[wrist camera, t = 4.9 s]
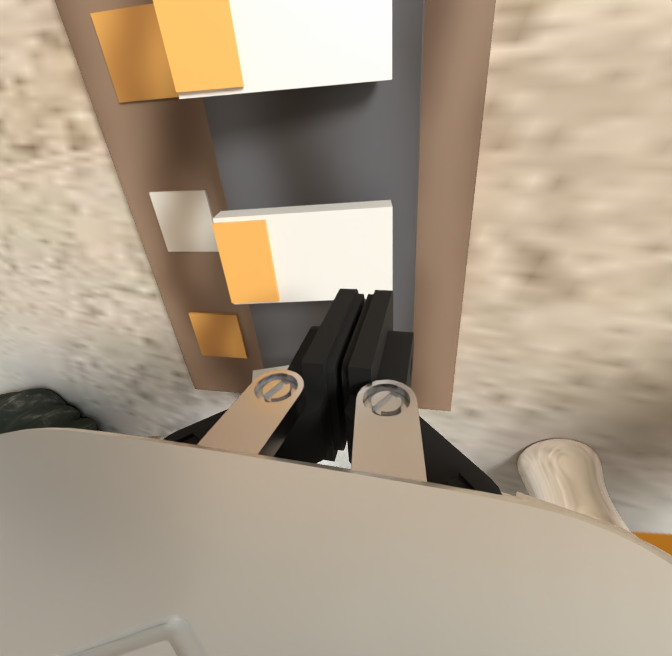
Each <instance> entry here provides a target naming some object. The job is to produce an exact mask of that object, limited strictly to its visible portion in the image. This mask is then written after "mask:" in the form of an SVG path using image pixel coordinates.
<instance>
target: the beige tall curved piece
mask: <svg viewBox="0 0 672 656" xmlns="http://www.w3.org/2000/svg"><path fill="white" fill-rule="evenodd" d="M517 468H518V472H519V474H520V476H521V479H522V481H523V483H524V485H525V487H526V489H527V492H528V494H529V496H532V497H535V498H538V499H540V500H543V501H546V502H549V503H552V504H555V505H558V506H561V507H564V508H566V509H569V510H572V511H575V512H578V513H581V514H584V515H587V516H590V517H592V518H595V519H598V520H601V521H604V522H607V523H610V524H613V525H616V526H619V527H621V528H623V529H625V530H627V531H629V532H630V530H629V529H628V527H627V526H626V524H625V523H624V521H623V520H622V518H621V517H620V515H619V513H618V512H617V510H616V509H615V507H614V505H613V503H612V501H611V499H610V497H609V495H608V492H607V490H606V486H605V482H604V477H603V472H602V467H601V462H600V460H599V457H598V455H597V454H596V453H595V451H594V450H593V449H591V448H590V447H589V446H587V445H585V444H583V443H581V442H578V441H574V440H569V439H549V440H543V441H540V442H537V443H535V444H532V445H531V446H529V447H527V448H526V449H525V450H524V451H523V452H522V453H521V454H520V456H519V458H518V461H517Z"/></svg>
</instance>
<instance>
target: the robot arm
mask: <svg viewBox="0 0 672 656" xmlns="http://www.w3.org/2000/svg"><path fill="white" fill-rule="evenodd" d="M413 355H414V332H403V331H393V291H392V290H375V291H374V294H368V296H367V299H366V301H365V299H364V294H359V293H358V290H357V289H341V288H340V289H339V291H338V293H337V295H336V297H335V299H334V301H333V303H332V304H331V306H330V308H329V310H328V312H327V314H326V316H325V318H324V320H323V322H322V324H321V325H320V326H312V327H311V328H310V330H309V331H308V333H307V335H306V337H305V339H304V340H303V342H302V344H301V346H300V347H299V349H298V351H297V353H296V355H295V356H294V358H293V360H292V362H291V364H290V365H289V367H288V369H287V370H273V371H270V372H267V373H264V374H263V375H261V376H259V377H257V378H256V379H255V380H254V381H253V382H252V383H251V384H250V385H249V386H248V387H247V389H246V390H245V391H244V392H243V393H242V394H241V395H240V396H239V398H238V399H237V400H236V401H235V402H234V403H233V404H232V406H231V407H230V408H229V409H227V410H225V411H223V412H220V413H218V414H216V415H213V416H211V417H209V418H206V419H204V420H202V421H199V422H197V423H195V424H192V425H190V426H188V427H185V428H183V429H181V430H178V431H176V432H174V433H172V434H171V435H169V436H167V437H166V438H165V439H164V440H163V438H162V436H151V437H140V436H133V435H126V434H119V433H112V432H103V431H94V430H85V429H76V428H37V429H25V430H19V431H14V432H8V433H3V434H0V656H672V556H671V555H670V554H668V553H666V552H664V551H662V550H661V549H659V548H657V547H655V546H654V545H652V544H650V543H648V542H645V541H643V540H641V539H640V538H639V537H637V536H636V535H635V534H633V533H631V532H629V531H627V530H625V529H623V528H621V527H619V526H616V525H613V524H610V523H607V522H604V521H601V520H598V519H595V518H592V517H590V516H587V515H584V514H581V513H578V512H575V511H572V510H569V509H566V508H564V507H561V506H558V505H555V504H552V503H549V502H546V501H543V500H540V499H538V498H535V497H532V496H529V495H526V494H523V493H520V492H517V493H516V496H513V495H510V494H507V493H504V492H502V491H500V489H499V487H498V486H497V485H496V484H495V483H494V482H493V481H492V479H491V478H490V477H489V476H487V475H486V474H485V473H484V472H483V471H482V470H481V469H479V468H478V467H477V466H476V465H475V464H474V463H473V462H471V461H470V460H469V459H468V458H467V457H466V456H464V455H463V454H462V453H461V452H460V451H459V450H458V449H456V448H455V447H454V446H453V445H452V444H451V443H450V442H448V441H447V440H446V439H445V438H444V437H443V436H442V435H440V434H439V433H438V432H437V431H436V430H435V429H434V428H432V427H431V426H430V425H429V424H428V423H427V422H426V421H424V420H423V419H422V418H421V417H420V416H419V412H418V404H417V398H416V395H415V393H414V392H413V390H412V389H411V381H412V370H413ZM346 442H347V443H348V454H349V462H350V463H351V469H346V468H339V467H333V466H327V465H321V464H317V463H318V462H320V461H322V460H329V461H335V458H336V455H337V451H338V450H342V451H343V450H344V449H345V446H346Z"/></svg>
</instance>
